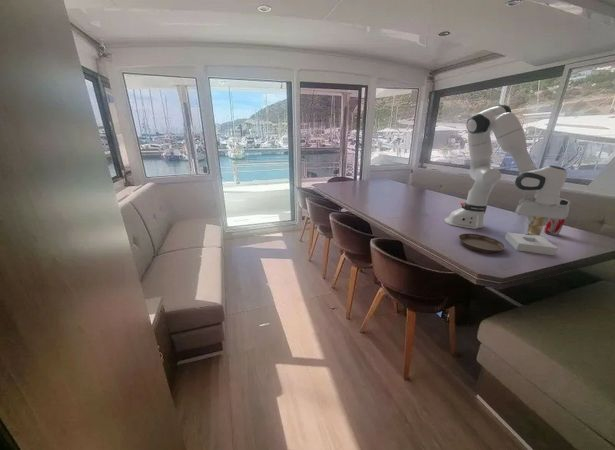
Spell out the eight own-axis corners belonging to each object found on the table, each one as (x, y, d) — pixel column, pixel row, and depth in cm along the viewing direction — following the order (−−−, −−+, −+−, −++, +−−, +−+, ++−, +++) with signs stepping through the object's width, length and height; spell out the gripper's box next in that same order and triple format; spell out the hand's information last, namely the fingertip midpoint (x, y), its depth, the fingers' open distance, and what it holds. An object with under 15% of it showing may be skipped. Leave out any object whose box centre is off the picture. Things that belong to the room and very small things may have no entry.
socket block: (516, 250, 127) (519, 243, 126) (504, 238, 141) (507, 232, 140) (555, 255, 122) (558, 248, 121) (539, 242, 136) (541, 236, 135)
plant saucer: (510, 249, 128) (512, 244, 127) (490, 258, 119) (492, 252, 117) (470, 236, 145) (471, 230, 144) (449, 243, 135) (450, 237, 134)
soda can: (561, 236, 146) (569, 217, 142) (548, 235, 147) (555, 216, 143) (553, 231, 152) (560, 213, 148) (540, 230, 154) (547, 212, 149)
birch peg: (530, 234, 128) (536, 216, 124) (526, 231, 132) (532, 214, 128) (539, 235, 127) (546, 217, 123) (535, 232, 130) (542, 215, 127)
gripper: (523, 198, 123) (514, 224, 128) (575, 202, 116) (564, 229, 121) (517, 195, 128) (510, 220, 133) (567, 199, 122) (557, 225, 127)
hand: (536, 224), depth 127 cm, fingers closed on birch peg, 4 cm apart
